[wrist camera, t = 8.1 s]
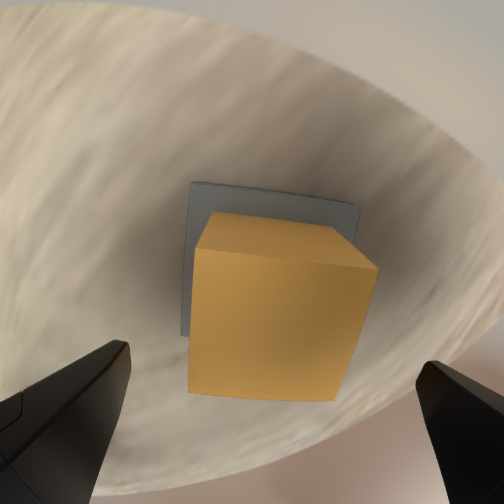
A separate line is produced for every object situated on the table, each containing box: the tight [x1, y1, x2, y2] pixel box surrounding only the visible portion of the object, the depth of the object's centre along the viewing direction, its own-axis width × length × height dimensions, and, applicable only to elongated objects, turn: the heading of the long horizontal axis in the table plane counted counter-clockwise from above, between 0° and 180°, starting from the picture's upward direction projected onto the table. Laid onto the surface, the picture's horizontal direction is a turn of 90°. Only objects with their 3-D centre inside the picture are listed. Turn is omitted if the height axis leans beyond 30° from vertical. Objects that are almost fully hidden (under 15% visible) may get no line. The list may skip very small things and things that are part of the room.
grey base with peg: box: [181, 182, 360, 337], centre depth 13 cm, size 8×8×5 cm
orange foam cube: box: [188, 211, 379, 401], centre depth 12 cm, size 6×6×6 cm
